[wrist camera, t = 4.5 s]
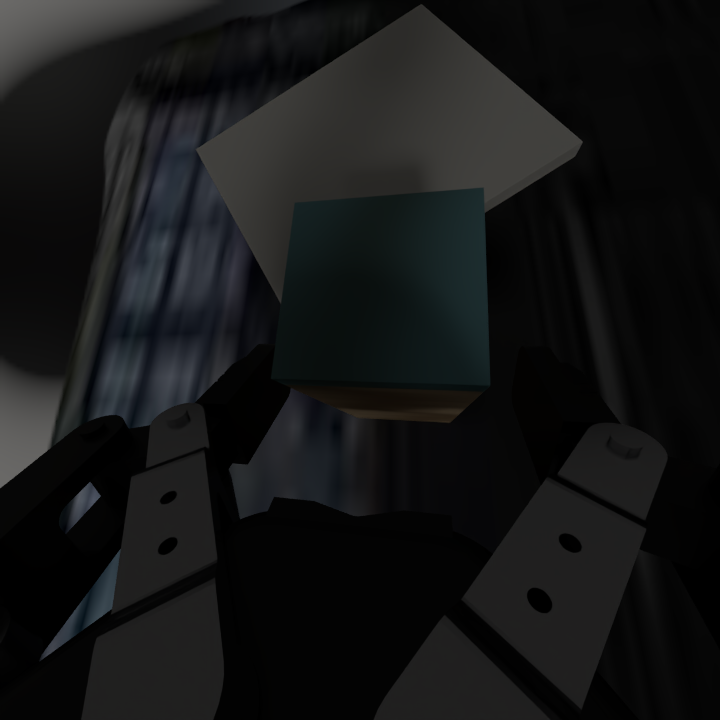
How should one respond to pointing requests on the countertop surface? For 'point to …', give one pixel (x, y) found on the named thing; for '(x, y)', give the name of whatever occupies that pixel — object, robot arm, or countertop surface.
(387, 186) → the cream board
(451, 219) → the brown tall block
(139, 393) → the countertop surface
